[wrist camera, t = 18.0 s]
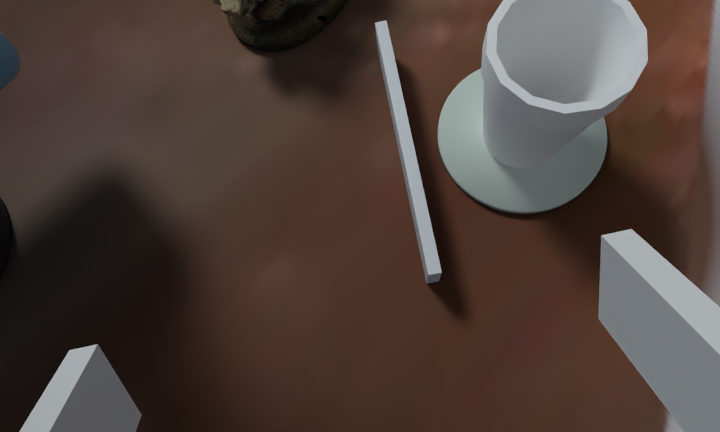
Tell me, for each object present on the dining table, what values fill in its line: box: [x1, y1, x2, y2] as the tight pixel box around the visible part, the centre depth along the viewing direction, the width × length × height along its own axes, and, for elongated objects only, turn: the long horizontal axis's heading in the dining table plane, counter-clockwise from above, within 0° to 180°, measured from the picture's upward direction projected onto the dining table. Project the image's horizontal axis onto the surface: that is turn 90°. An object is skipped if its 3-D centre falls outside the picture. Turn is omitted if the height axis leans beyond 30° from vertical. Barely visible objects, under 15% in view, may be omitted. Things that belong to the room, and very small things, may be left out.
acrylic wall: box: [375, 20, 442, 283], centre depth 42 cm, size 22×1×4 cm, turn 10°
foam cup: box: [481, 0, 648, 169], centre depth 36 cm, size 10×9×13 cm
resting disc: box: [437, 69, 607, 214], centre depth 43 cm, size 14×14×1 cm
